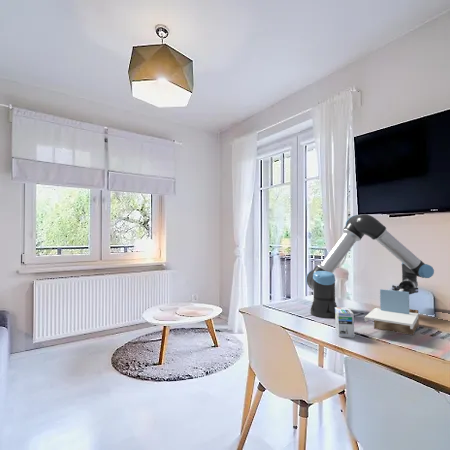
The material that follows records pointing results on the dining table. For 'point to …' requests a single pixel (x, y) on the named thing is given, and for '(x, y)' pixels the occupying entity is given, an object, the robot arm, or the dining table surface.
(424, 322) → the dining table surface
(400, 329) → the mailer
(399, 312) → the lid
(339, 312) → the light bulb box
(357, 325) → the dining table surface
